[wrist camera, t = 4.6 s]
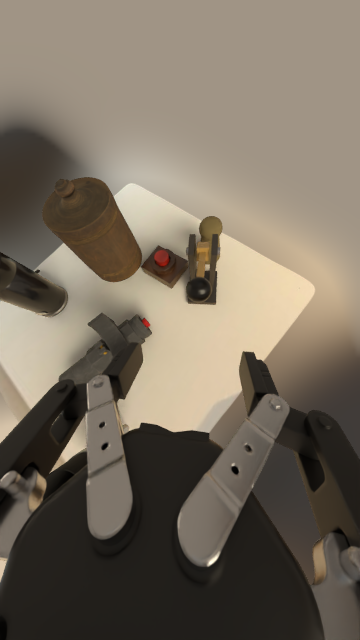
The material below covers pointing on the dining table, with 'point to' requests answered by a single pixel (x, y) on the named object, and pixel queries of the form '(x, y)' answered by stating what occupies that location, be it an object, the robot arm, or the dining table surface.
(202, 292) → the lever
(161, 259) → the button
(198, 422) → the dining table surface
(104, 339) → the laser sight
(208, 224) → the tan wooden game pawn
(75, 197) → the wooden container
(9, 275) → the robot arm
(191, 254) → the switch bracket
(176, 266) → the lamp base
